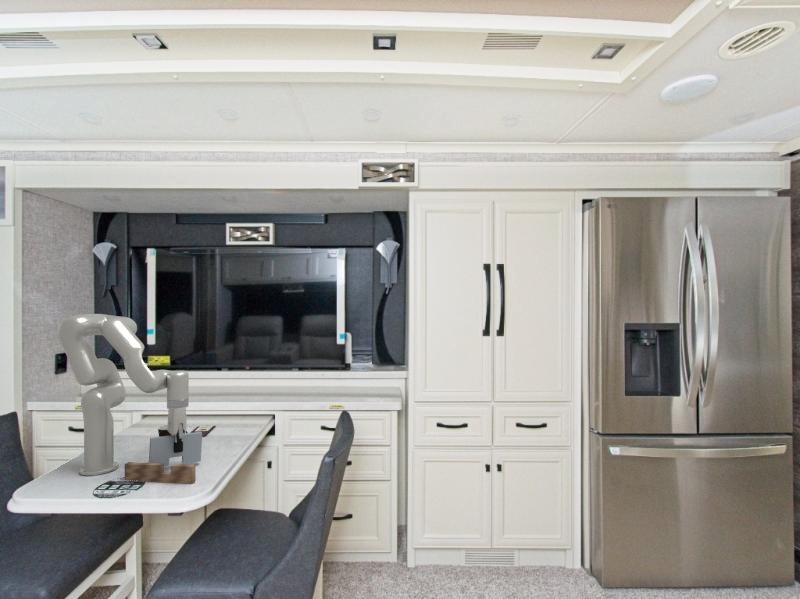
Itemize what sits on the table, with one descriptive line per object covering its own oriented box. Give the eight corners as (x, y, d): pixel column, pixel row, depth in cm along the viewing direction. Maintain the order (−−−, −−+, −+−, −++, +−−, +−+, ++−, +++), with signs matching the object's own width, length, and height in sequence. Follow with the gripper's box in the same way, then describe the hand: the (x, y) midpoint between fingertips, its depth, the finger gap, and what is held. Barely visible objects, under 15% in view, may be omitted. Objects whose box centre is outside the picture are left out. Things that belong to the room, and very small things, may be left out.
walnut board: (124, 480, 167) (124, 463, 167) (128, 478, 169) (128, 462, 169) (192, 483, 163) (192, 466, 163) (195, 481, 165) (195, 464, 165)
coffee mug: (153, 451, 199) (153, 428, 199) (171, 445, 207) (170, 423, 207) (172, 455, 194) (172, 431, 194) (189, 449, 202) (189, 426, 202)
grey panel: (149, 469, 171) (151, 439, 171) (148, 467, 173) (150, 437, 173) (200, 461, 182) (202, 432, 183) (199, 459, 184) (200, 431, 184)
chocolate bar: (185, 436, 219) (197, 426, 237) (185, 438, 219) (197, 428, 237) (205, 435, 220) (215, 425, 238) (205, 437, 220) (215, 427, 238)
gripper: (162, 401, 182) (162, 448, 182) (171, 408, 169) (171, 458, 169) (183, 398, 187) (183, 444, 186) (193, 405, 174) (193, 454, 174)
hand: (177, 451), depth 178 cm, fingers closed on grey panel, 1 cm apart
